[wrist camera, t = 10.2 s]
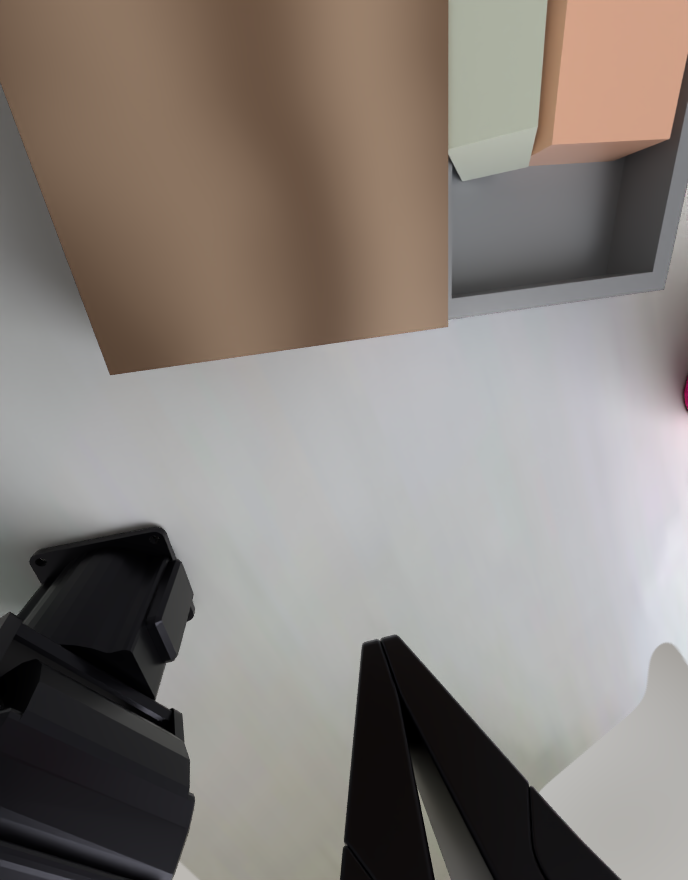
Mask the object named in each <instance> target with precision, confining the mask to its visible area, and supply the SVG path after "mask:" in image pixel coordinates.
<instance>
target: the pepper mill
mask: <svg viewBox="0 0 688 880" xmlns="http://www.w3.org/2000/svg"><path fill="white" fill-rule="evenodd" d="M684 395H685V404H686V407H687V410H688V378H687V382H686V387H685V392H684Z"/></svg>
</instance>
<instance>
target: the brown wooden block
mask: <svg viewBox="0 0 688 880" xmlns="http://www.w3.org/2000/svg"><path fill="white" fill-rule="evenodd" d="M0 83H1V85H2V88H3V91H4V93H5V96H6V99H7V101H8V104H9V107H10V109H11V112H12V115H13V117H14V120H15V123H16V125H17V128H18V131H19V133H20V136H21V139H22V141H23V144H24V147H25V149H26V152H27V155H28V157H29V160H30V163H31V165H32V168H33V171H34V173H35V176H36V179H37V181H38V184H39V187H40V189H41V192H42V195H43V197H44V200H45V203H46V205H47V208H48V211H49V213H50V216H51V219H52V221H53V224H54V227H55V229H56V232H57V235H58V237H59V240H60V243H61V245H62V248H63V251H64V253H65V256H66V259H67V261H68V264H69V267H70V269H71V272H72V275H73V277H74V280H75V283H76V285H77V288H78V291H79V293H80V296H81V299H82V301H83V304H84V307H85V309H86V312H87V315H88V317H89V320H90V323H91V325H92V328H93V331H94V333H95V336H96V339H97V341H98V344H99V347H100V349H101V352H102V355H103V357H104V360H105V363H106V365H107V368H108V371H109V373H110V375H115V374H122V373H129V372H136V371H143V370H150V369H157V368H164V367H171V366H178V365H185V364H192V363H199V362H206V361H213V360H220V359H227V358H234V357H241V356H248V355H255V354H262V353H269V352H276V351H283V350H290V349H297V348H304V347H311V346H318V345H325V344H332V343H338V342H345V341H352V340H359V339H366V338H373V337H380V336H387V335H394V334H401V333H408V332H415V331H422V330H429V329H436V328H443V327H448V0H0Z"/></svg>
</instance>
